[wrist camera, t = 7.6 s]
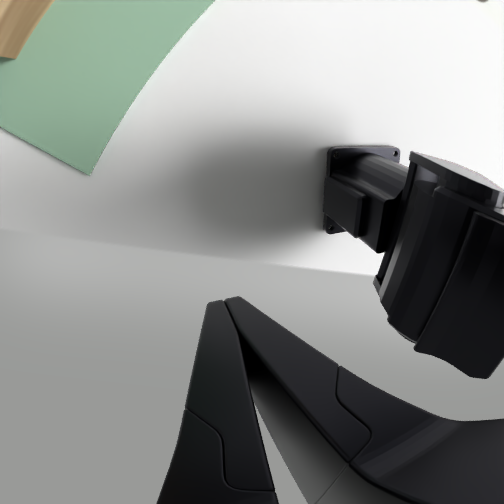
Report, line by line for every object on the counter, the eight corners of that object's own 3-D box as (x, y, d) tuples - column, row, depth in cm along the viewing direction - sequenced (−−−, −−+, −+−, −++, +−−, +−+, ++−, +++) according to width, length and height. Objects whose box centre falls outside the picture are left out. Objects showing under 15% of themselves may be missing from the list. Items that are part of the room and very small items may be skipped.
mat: (230, -16, 12) (232, -17, 12) (90, 174, 16) (89, 175, 15) (-1, -95, 1) (-2, -97, 1) (-106, 65, 4) (-108, 65, 4)
